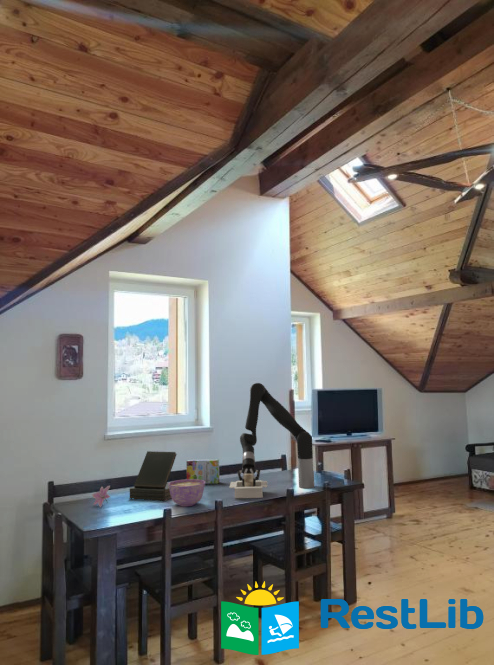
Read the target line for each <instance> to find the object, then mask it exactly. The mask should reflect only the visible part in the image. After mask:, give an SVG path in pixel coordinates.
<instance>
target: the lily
mask: <svg viewBox="0 0 494 665" xmlns="http://www.w3.org/2000/svg"><path fill="white" fill-rule="evenodd" d="M110 488H111V485H107V486H106V487H103V486H101V487H100V488H99V491H96V492H94V493H92V494H91V497H93V498H94V499H95V501H94V502H93V506H95V505H97V504H98V506H99V508H101V507H102V506H103V502H104V500H105V501H106V504H108V503H109V502H108V500H107V499H109V498H111V496H110V495H109V493H108V491H109V490H110Z"/></svg>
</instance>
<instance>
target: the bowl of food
mask: <svg viewBox="0 0 494 665" xmlns="http://www.w3.org/2000/svg"><path fill="white" fill-rule="evenodd" d="M167 483H168V486H169V490H170V494H171V498H170V499H171V500H172V501H173V502H174V503H175V504H176V505H179V507H193V506H195V504H197V503H198V502H200V501H201V500H202V499H203V494H204V491H205V486H206V484H205V481H204V480H199V479H187V478H185V479H177V480H172V481H170V482H167Z"/></svg>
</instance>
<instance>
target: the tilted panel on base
mask: <svg viewBox="0 0 494 665" xmlns="http://www.w3.org/2000/svg"><path fill="white" fill-rule="evenodd" d="M177 455H178V454H177V453H176V451H150V450H148V451H147V452H146V453H145V456H144V459H143V460H142V461H143V462H142V464H141V465H140V466H141V467H140V468H139V469H140V470H139V472H138V474H137V477H136V480H135V483H134V485H133V487H130V488H129V499H130V498H134V499H133V500H137V499H144V500H143V501H157V502H166V501H167V500H171V499H172V498H171V494H170V490H169V486H168V483H169V482H168V480H169V478H170V476H171V472H172V470H173V466H174V463H175V460H176V457H177Z"/></svg>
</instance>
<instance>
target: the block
mask: <svg viewBox="0 0 494 665" xmlns="http://www.w3.org/2000/svg"><path fill="white" fill-rule="evenodd" d="M243 475H244V484H245V487H253V473H246V474H243Z"/></svg>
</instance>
